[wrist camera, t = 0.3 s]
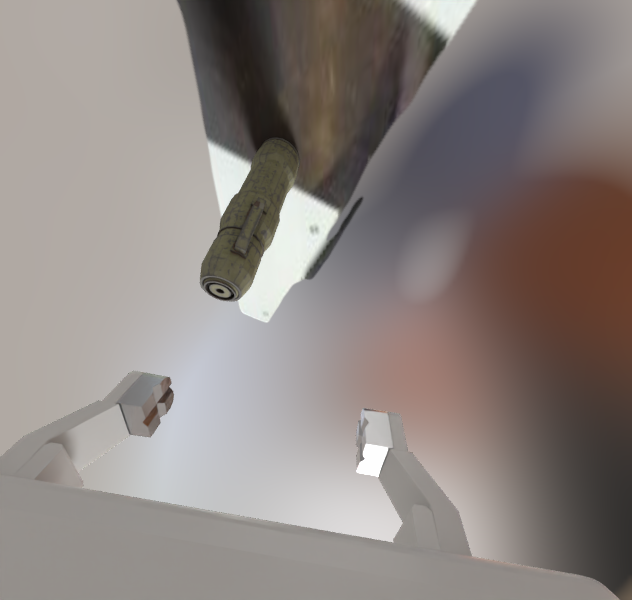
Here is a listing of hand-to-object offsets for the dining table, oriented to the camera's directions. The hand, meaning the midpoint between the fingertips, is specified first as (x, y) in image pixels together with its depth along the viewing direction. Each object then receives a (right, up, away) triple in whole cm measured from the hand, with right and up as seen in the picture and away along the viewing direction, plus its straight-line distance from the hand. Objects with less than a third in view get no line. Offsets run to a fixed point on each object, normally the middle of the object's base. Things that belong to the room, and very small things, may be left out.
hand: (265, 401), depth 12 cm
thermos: (-5, +34, +47) cm, 59 cm away
